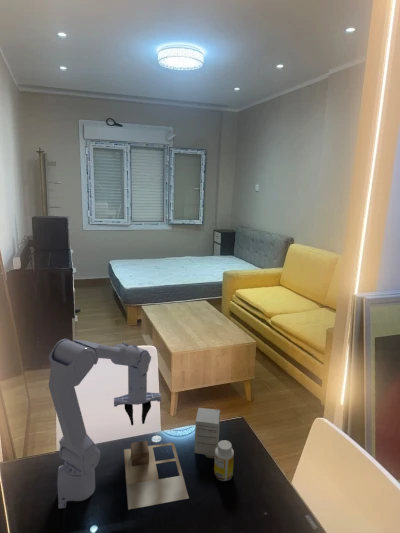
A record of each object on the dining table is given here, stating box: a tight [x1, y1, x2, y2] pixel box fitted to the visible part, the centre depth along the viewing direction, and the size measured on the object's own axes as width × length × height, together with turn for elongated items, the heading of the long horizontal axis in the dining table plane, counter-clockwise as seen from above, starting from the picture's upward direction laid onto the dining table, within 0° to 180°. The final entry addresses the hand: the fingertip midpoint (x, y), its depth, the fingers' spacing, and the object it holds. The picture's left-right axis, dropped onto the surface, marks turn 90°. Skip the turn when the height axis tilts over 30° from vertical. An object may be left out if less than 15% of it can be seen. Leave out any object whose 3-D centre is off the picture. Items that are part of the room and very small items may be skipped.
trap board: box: [123, 441, 190, 511], centre depth 105 cm, size 16×22×1 cm
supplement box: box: [194, 407, 221, 459], centre depth 115 cm, size 7×7×13 cm
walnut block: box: [130, 440, 149, 466], centre depth 109 cm, size 5×5×4 cm
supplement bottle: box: [213, 439, 235, 482], centre depth 105 cm, size 6×6×10 cm
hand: (137, 422), depth 115 cm, fingers open, 3 cm apart
